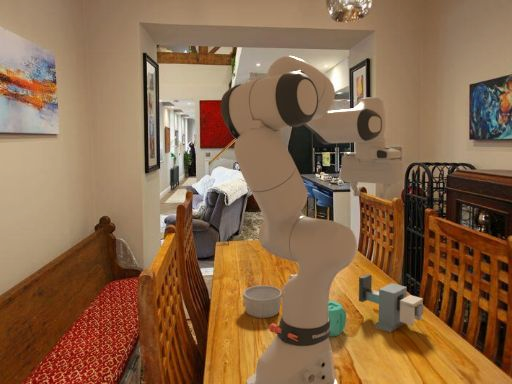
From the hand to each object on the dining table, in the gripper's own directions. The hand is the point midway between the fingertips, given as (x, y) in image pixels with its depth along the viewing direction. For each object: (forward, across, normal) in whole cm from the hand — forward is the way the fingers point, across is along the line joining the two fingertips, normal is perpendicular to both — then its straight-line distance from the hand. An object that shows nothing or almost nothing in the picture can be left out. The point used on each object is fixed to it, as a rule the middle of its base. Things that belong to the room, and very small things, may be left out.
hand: (370, 197), depth 118 cm
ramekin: (+39, -28, -22) cm, 53 cm away
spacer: (+37, +13, +2) cm, 39 cm away
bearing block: (+40, +7, +2) cm, 40 cm away
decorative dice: (+40, -4, -16) cm, 43 cm away
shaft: (+35, +6, +2) cm, 35 cm away
